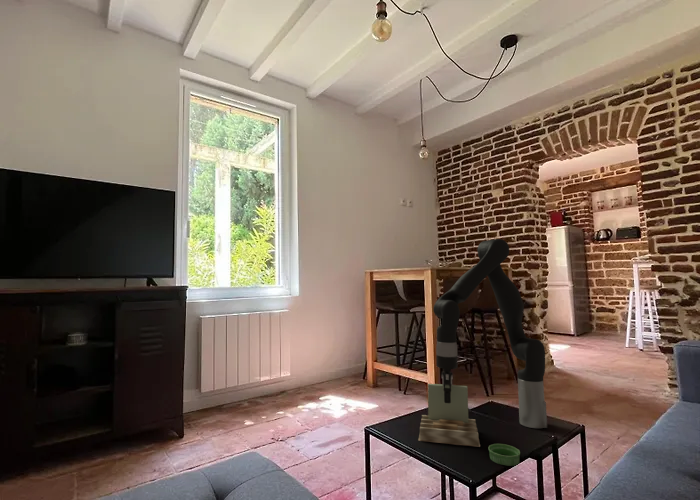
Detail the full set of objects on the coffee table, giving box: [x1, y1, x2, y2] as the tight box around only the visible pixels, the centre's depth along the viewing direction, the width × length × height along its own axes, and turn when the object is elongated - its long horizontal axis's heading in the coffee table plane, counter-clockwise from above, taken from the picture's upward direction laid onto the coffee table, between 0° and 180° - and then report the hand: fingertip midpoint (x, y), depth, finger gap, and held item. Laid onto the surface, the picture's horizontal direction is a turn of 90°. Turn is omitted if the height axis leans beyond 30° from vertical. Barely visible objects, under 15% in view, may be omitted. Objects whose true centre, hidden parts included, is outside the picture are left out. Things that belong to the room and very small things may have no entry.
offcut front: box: [433, 422, 458, 430], centre depth 128 cm, size 8×2×5 cm, turn 76°
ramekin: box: [488, 443, 521, 467], centre depth 113 cm, size 9×9×4 cm
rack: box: [417, 414, 481, 448], centre depth 131 cm, size 20×14×6 cm
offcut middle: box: [439, 419, 463, 426], centre depth 131 cm, size 8×2×5 cm, turn 76°
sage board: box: [427, 383, 469, 423], centre depth 136 cm, size 14×2×16 cm, turn 76°
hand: (447, 399), depth 136 cm, fingers open, 8 cm apart
